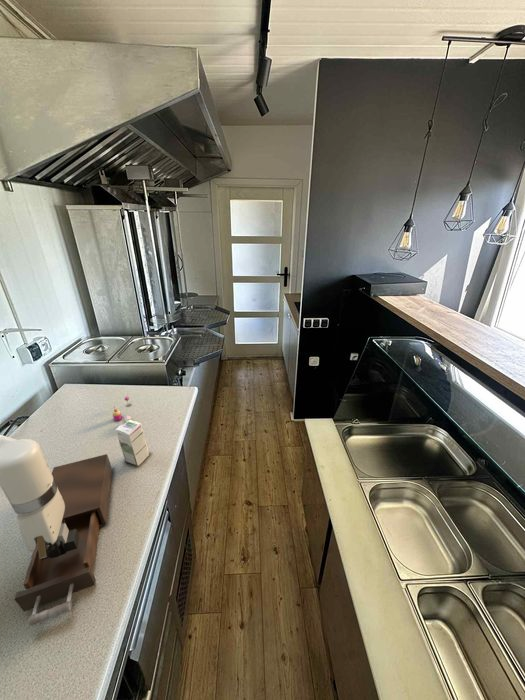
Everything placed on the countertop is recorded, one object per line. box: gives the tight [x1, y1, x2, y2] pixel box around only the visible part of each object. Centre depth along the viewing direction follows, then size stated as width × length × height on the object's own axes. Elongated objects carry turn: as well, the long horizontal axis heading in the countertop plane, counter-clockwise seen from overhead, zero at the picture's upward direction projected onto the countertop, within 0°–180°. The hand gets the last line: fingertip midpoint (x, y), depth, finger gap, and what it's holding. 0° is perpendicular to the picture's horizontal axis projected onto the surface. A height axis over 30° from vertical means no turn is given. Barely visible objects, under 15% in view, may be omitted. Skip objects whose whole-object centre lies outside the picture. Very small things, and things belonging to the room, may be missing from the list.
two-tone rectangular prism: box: [38, 523, 79, 560], centre depth 66 cm, size 7×3×6 cm, turn 111°
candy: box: [112, 396, 132, 423], centre depth 116 cm, size 18×8×6 cm, turn 36°
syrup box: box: [115, 419, 150, 467], centre depth 95 cm, size 6×6×14 cm
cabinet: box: [51, 453, 113, 528], centre depth 82 cm, size 20×15×7 cm
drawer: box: [14, 510, 100, 628], centre depth 67 cm, size 24×13×5 cm, turn 21°
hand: (60, 546), depth 67 cm, fingers closed on two-tone rectangular prism, 3 cm apart
